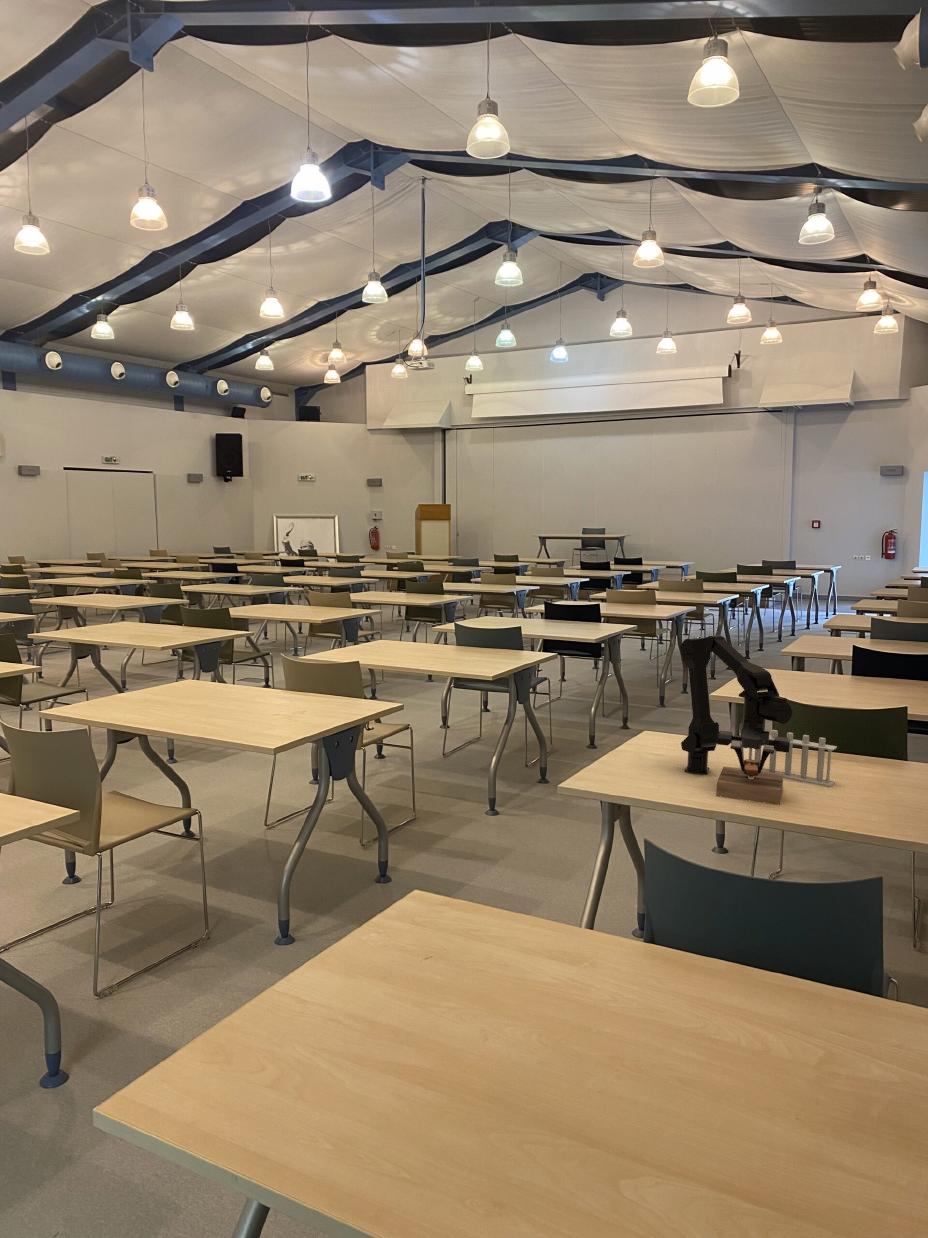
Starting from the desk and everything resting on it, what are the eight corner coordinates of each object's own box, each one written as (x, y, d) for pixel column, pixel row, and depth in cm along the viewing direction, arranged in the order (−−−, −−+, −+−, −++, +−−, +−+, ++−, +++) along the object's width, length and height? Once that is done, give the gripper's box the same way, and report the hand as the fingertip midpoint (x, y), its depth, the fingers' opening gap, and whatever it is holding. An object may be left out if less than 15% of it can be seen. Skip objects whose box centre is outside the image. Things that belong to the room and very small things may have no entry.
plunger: (743, 785, 230) (744, 758, 229) (758, 787, 229) (760, 760, 228) (741, 789, 226) (743, 762, 226) (757, 791, 225) (759, 764, 224)
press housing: (722, 780, 238) (723, 766, 238) (782, 788, 232) (783, 774, 231) (716, 796, 223) (717, 781, 223) (779, 804, 217) (780, 790, 217)
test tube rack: (834, 784, 237) (837, 738, 235) (830, 787, 233) (834, 741, 232) (747, 767, 252) (749, 724, 250) (742, 770, 248) (744, 727, 247)
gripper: (715, 718, 222) (712, 775, 223) (790, 726, 214) (786, 785, 216) (720, 710, 232) (717, 764, 234) (791, 717, 225) (788, 773, 226)
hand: (751, 772), depth 227 cm, fingers closed on plunger, 4 cm apart
